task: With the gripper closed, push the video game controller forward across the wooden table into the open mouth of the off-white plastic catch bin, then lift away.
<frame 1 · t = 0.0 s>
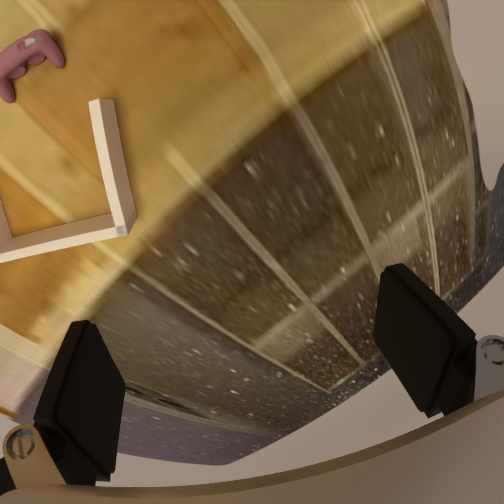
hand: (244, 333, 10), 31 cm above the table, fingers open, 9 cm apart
catch bin: (49, 174, 34), on the table
video game controller: (32, 67, 28), on the table
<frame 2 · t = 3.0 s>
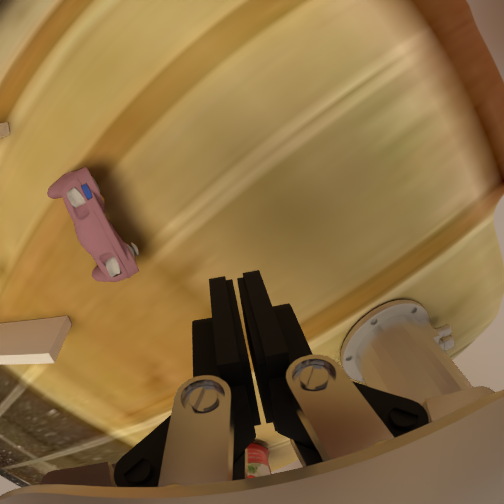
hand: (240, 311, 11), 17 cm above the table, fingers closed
liquor: (245, 448, 43), on the table
video game controller: (100, 217, 26), on the table
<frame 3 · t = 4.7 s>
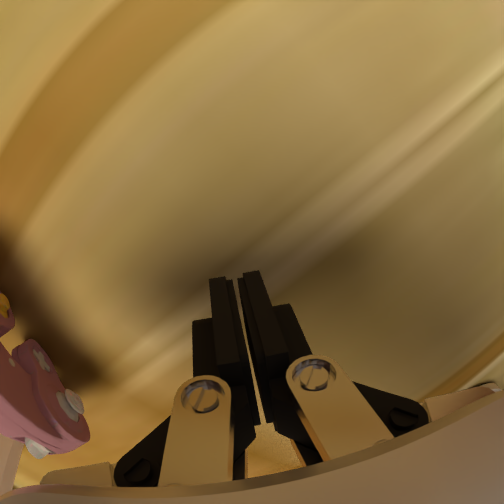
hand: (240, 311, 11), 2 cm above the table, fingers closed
video game controller: (16, 323, 12), on the table
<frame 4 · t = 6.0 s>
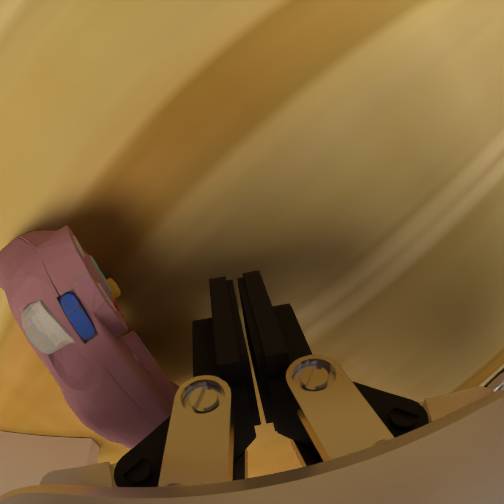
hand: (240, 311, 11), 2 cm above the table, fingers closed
video game controller: (111, 313, 12), on the table, touching gripper
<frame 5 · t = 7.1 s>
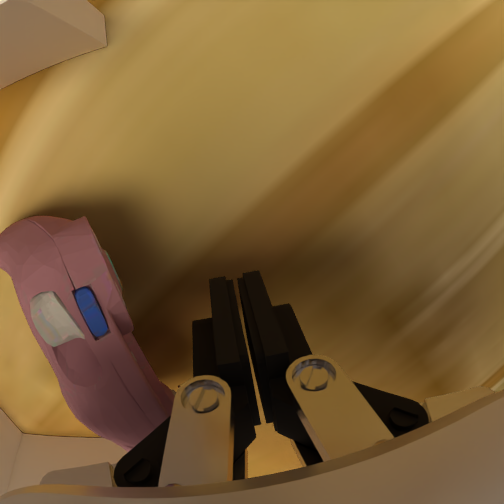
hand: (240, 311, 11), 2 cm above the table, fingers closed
catch bin: (23, 319, 12), on the table
video game controller: (106, 307, 12), on the table, touching gripper
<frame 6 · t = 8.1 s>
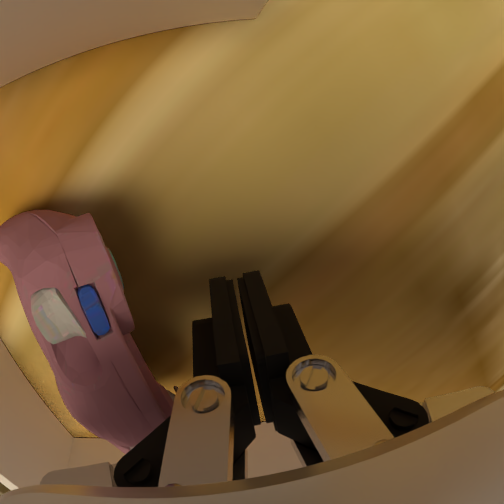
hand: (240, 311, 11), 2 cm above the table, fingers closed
catch bin: (110, 307, 12), on the table
video game controller: (104, 305, 12), on the table, touching gripper
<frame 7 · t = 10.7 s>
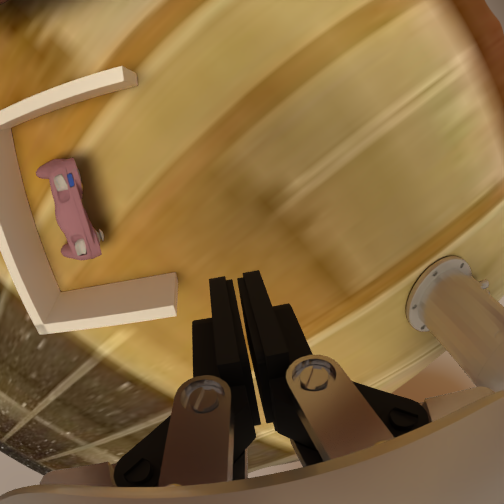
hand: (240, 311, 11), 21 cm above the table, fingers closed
catch bin: (87, 199, 28), on the table
video game controller: (77, 201, 28), on the table
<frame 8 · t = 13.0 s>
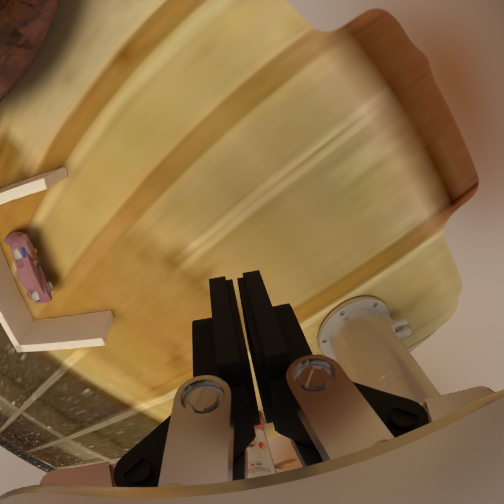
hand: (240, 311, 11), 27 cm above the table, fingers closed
pottery vessel: (1, 28, 22), on the table
liquor: (245, 418, 56), on the table
catch bin: (44, 257, 36), on the table
video game controller: (35, 258, 36), on the table
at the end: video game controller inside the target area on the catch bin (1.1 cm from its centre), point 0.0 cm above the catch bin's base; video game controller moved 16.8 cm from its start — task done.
